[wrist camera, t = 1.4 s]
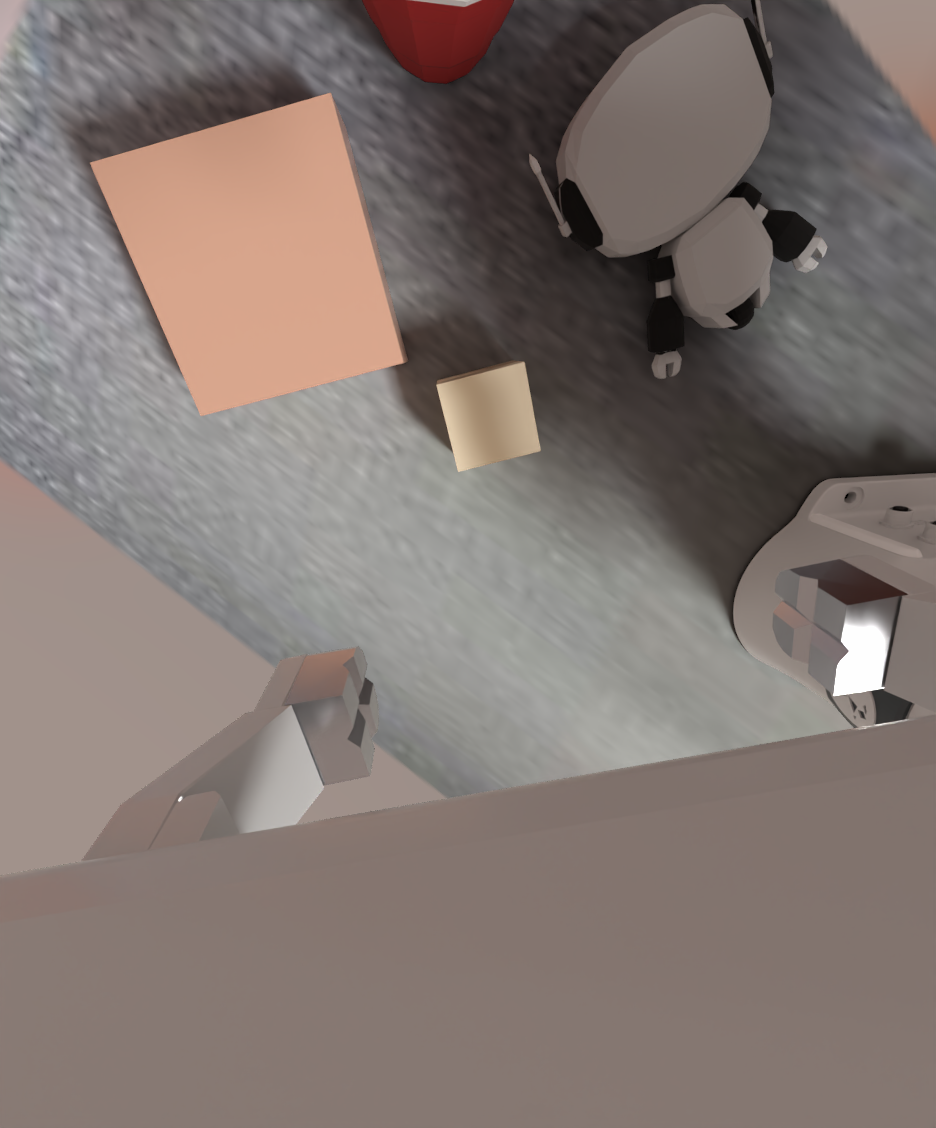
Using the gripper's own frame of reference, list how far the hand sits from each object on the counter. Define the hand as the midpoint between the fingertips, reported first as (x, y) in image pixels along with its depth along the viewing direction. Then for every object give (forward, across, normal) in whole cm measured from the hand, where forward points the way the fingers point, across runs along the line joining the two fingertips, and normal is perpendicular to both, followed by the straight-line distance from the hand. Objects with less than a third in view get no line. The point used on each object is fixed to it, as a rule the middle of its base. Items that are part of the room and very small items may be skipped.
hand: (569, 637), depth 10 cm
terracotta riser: (+26, +10, -11) cm, 30 cm away
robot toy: (+26, -13, -10) cm, 31 cm away
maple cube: (+26, -1, -1) cm, 26 cm away
